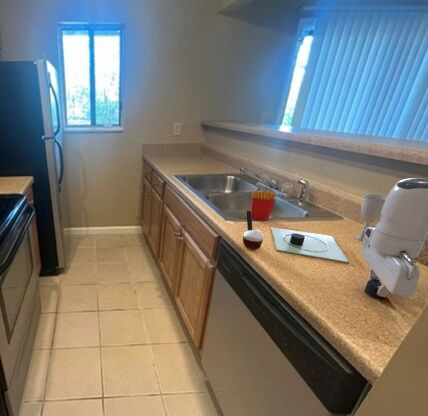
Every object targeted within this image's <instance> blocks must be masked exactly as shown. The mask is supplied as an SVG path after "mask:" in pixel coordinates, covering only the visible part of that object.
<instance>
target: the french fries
mask: <svg viewBox="0 0 428 416" xmlns="http://www.w3.org/2000/svg"><path fill="white" fill-rule="evenodd" d="M251 195H252V196H251V204H250V211H251V216H252V220H256V221H257V219H258V221H269V219H270V216H271V214H272V210H273V208H274V205H275V202H276V199H275V197H276V195H277V192H273V191H272V190H263V189H261V190H259V189H256V190H252V191H251Z"/></svg>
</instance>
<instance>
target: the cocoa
mask: <svg viewBox="0 0 428 416" xmlns="http://www.w3.org/2000/svg"><path fill="white" fill-rule="evenodd" d="M252 220H253V219H252V216H251V210H246V222H247V223H246V224H247V230H246V231H245V232H244V233H243V236H242V243H243V245H244V247H246V248H247V249H250V250H259V249H260V248H261V246H262V244H263V242H264V241H263V240H264V238H265V235H264V234H263V232H262V231H260V230H259V229H253V221H252Z"/></svg>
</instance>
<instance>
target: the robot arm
mask: <svg viewBox="0 0 428 416" xmlns="http://www.w3.org/2000/svg"><path fill="white" fill-rule="evenodd" d="M427 239H428V178H426V177H425V178H422V177H420V178H419V177H411V178H406V179H402V180H399V181H397V182H396V183H395V184H394V185H393V186H392V188H391V189H390V191H389V193H388V194H387V198H386V200H385V202H384V205H383V207H382V210H381V216H380V219H379V221H378V222H377V223H376V224H375V227H370V226H369V227H367V228H366V230H365V238H364V241H362V244H361V248H360V255H361V257H362V258H363V260H364V261H365V262H366V264H367V265H368V266H369V267H368V278H367V282H368V281H369V280H375V281H379V282H381V284H382V285H381V286H380V287H377V290H376V293H377V294H378V295H379V296H382V297H384V298H386V297H388V295H389V294H391V295H396V296H401V297H405V298H409V297H411V296H414V295H415V291H416V290H417V287H418V283H419V279H420V275H421V270H420V268H419V266H418V265H417V261H416V260H415V258H418V257H419V256H420V254H421V252H422V249H423V247H424V245H425V243H426V241H427Z"/></svg>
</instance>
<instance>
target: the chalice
mask: <svg viewBox="0 0 428 416" xmlns="http://www.w3.org/2000/svg"><path fill="white" fill-rule="evenodd" d="M387 196H388V195H387ZM387 196H386V195H382V194H377V193H364V194H363V202H362V204H361V207H360V211H361V213H360V214H361V217H362V220H363V221H364V222H365V224H364V225H362V227H363V229H362V230H361V231H360V232H361V235H357V236H355V237H354V239H355V240H357V241H360V242H363V241H364V238H365V236H366V235H365V230H366V228H367V227H370V223H374V222H375V221H377V220H378V219H379V218H381V210H382V207H383V205H384V202H385V200H386V198H387Z"/></svg>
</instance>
